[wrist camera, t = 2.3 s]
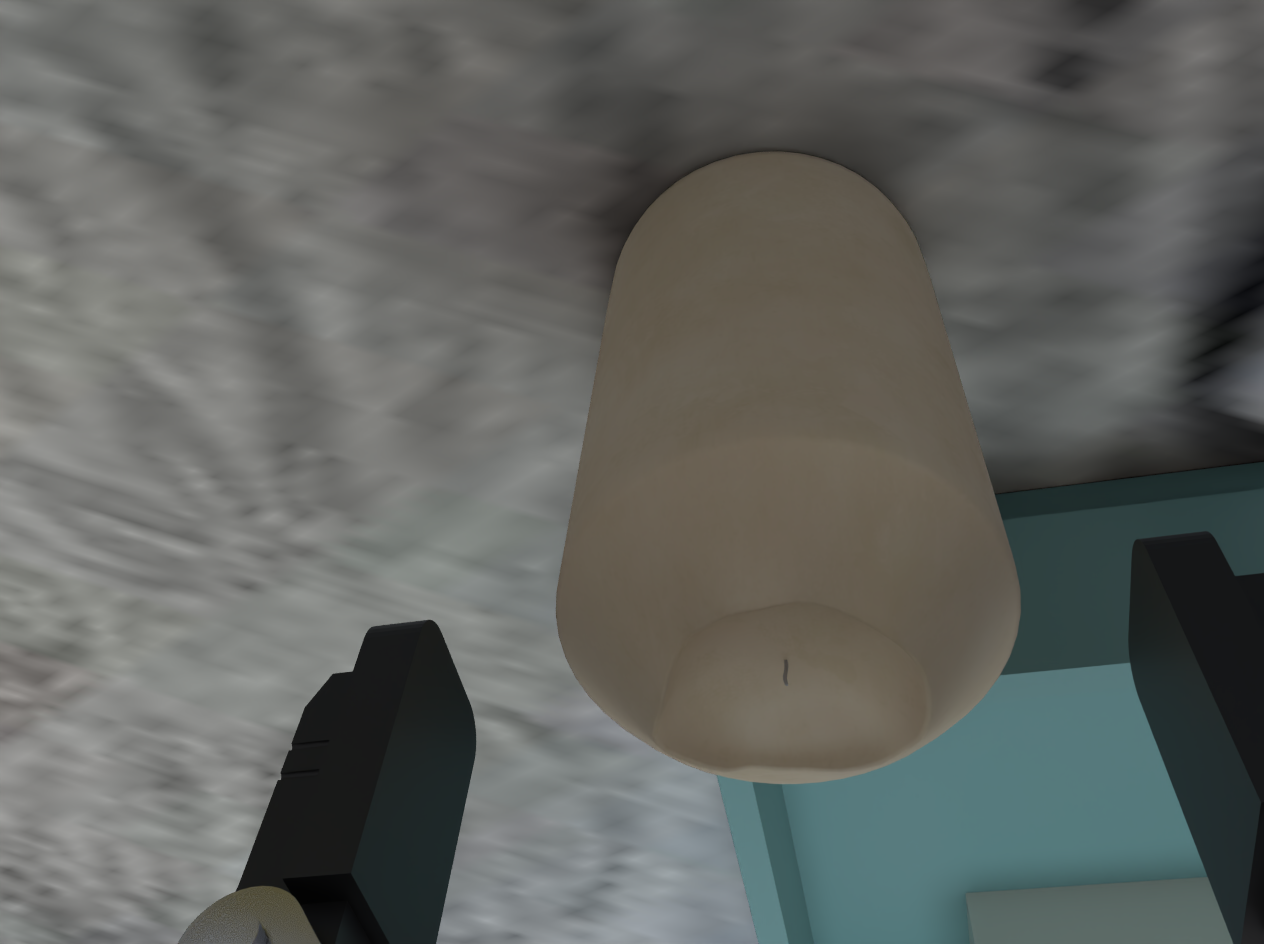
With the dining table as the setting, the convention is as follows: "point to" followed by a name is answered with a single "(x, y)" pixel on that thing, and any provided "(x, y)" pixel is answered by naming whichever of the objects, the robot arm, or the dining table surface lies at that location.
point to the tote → (1008, 745)
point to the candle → (781, 487)
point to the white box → (1100, 914)
